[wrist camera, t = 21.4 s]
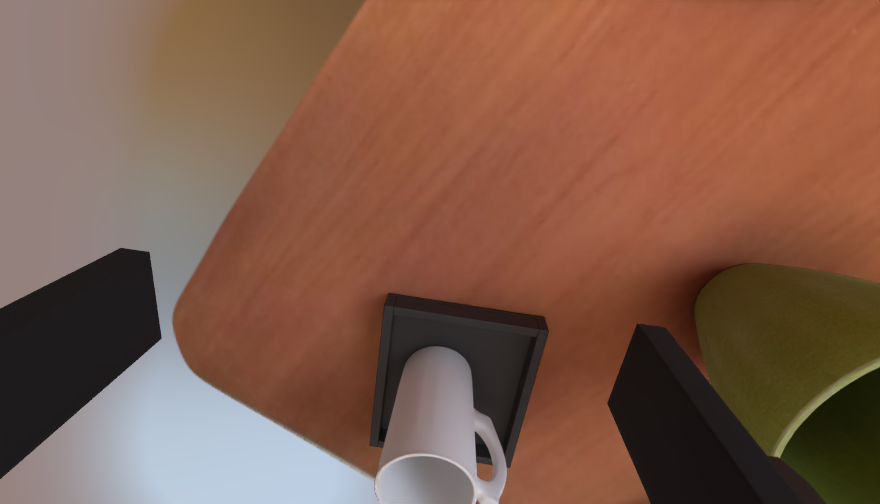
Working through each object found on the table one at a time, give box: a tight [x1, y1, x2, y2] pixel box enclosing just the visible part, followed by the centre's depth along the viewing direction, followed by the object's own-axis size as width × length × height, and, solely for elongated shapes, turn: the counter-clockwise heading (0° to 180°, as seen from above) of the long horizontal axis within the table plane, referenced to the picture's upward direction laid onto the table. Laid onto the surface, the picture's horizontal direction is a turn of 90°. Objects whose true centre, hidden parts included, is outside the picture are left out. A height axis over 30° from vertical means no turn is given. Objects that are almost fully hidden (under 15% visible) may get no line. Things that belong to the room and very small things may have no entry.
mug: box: [374, 346, 507, 504], centre depth 34 cm, size 10×7×12 cm, turn 60°
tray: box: [370, 293, 549, 468], centre depth 39 cm, size 14×16×2 cm
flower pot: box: [694, 263, 880, 504], centre depth 28 cm, size 15×15×16 cm
